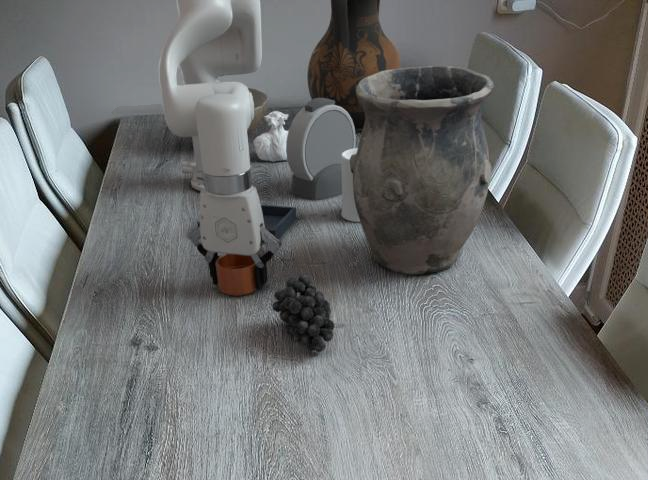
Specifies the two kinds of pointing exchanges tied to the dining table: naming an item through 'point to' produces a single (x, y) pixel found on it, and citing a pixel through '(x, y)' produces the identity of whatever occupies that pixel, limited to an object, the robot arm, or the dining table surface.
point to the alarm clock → (319, 148)
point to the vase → (350, 55)
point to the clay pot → (421, 164)
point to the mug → (348, 188)
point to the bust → (273, 139)
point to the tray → (276, 218)
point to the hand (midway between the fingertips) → (239, 283)
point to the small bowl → (236, 274)
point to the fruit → (305, 313)
